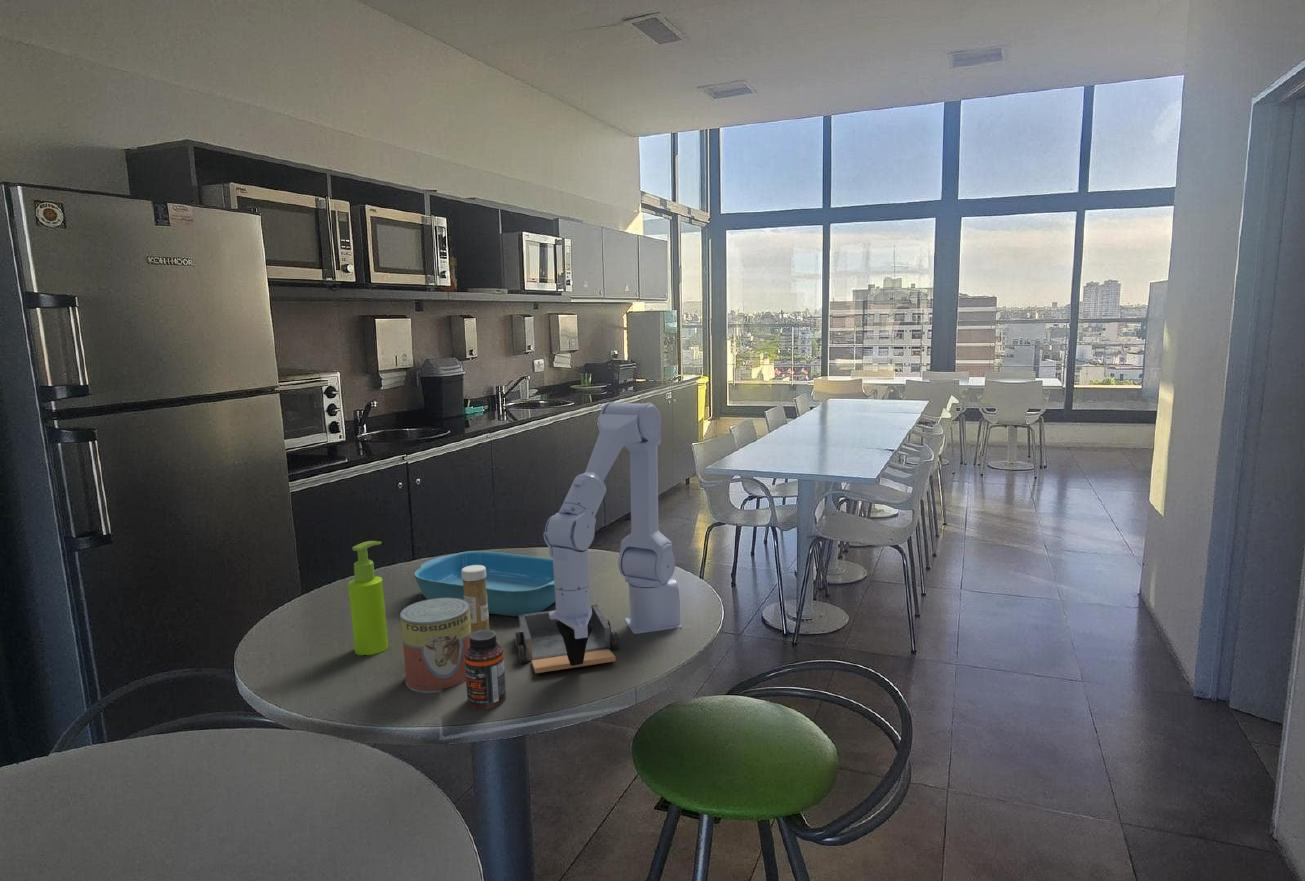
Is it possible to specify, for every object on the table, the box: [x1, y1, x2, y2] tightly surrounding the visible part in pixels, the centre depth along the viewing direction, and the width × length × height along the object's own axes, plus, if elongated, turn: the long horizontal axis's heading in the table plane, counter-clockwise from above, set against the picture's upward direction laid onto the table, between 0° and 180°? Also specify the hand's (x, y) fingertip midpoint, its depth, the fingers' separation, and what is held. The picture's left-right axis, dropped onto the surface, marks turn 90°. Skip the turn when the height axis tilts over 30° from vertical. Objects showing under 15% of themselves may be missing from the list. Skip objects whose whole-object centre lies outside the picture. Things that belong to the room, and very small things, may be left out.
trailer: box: [514, 604, 620, 665], centre depth 139 cm, size 17×13×4 cm
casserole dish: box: [413, 550, 556, 617], centre depth 165 cm, size 37×22×7 cm, turn 66°
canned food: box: [399, 598, 471, 694], centre depth 127 cm, size 11×11×12 cm
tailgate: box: [530, 649, 617, 674], centre depth 130 cm, size 14×1×6 cm
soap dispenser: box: [347, 540, 389, 656], centre depth 140 cm, size 6×7×20 cm
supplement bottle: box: [464, 629, 507, 710], centre depth 118 cm, size 6×6×11 cm
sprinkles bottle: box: [461, 565, 491, 634], centre depth 144 cm, size 5×5×14 cm
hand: (576, 663), depth 127 cm, fingers closed
